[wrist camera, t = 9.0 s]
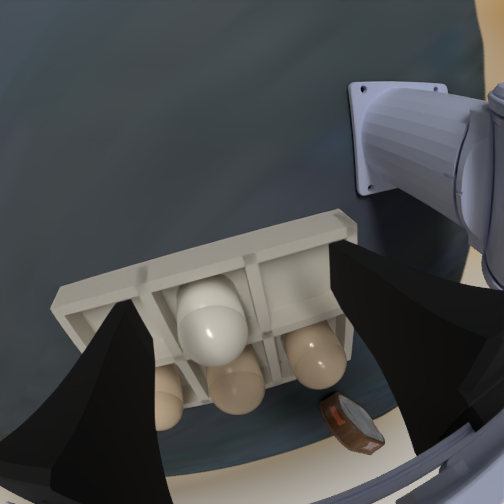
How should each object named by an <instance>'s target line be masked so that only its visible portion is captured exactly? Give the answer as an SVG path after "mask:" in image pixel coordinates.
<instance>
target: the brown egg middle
mask: <svg viewBox="0 0 504 504" xmlns="http://www.w3.org/2000/svg"><path fill="white" fill-rule="evenodd" d="M205 369H206V376H207V382H208V389H209V394H210V397H211V399H212V401H213V403H214V404H215V405H216V406H217V407H218V408H219V409H220V410H222V411H224V412H226V413H228V414H233V415H242V414H246V413H249V412H251V411H253V410H254V409H255V408H257V407H258V406H259V404H260V403H261V402H262V400H263V397H264V394H265V383H264V379H263V376H262V373H261V370H260V366H259V363H258V360H257V357H256V354H255V350H254V348H253V346H252V344H247V345H246V346H245V349H244V350H243V352H242V353H241V355H240V356H239V357H238V358H237V359H236V360H234V361H233V362H231V363H229V364H227V365H224V366H221V367H207V366H205Z"/></svg>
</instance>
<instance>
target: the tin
mask: <svg viewBox="0 0 504 504" xmlns="http://www.w3.org/2000/svg"><path fill="white" fill-rule="evenodd" d="M319 407H320V411H321V414H322V417H323V419H324V421H325V422H326V424H327V426H328V427H329V429H330V430H331V432H332V433H333V435H334V436H335V437H336V438H337V440H339V442H340V443H341V444H342V445H344V446H345V447H346V448H347V449H349V450H350V451H354V452H358V453H363V454H368V455H371V454H373V453H374V452H375V451H376V450H378V449H379V448H381V447H382V446H383V445H384V444H385V440H384V437H383V435H382V434H381V433H380V432H379V431H378V429H377V428H376V426H375V424H374V422H373V420H372V418H371V417H370V415H369V414H368V413H367V412H366V411H365V410H364V409H363V408H362V407H361V406H360V405H358V404H357V403H355V402H354V401H353V400H351V399H350V398H348V397H346V396H345V395H343V394H342V393H340V392H335V393H333V394H332V395H330V396H329V397H328V398H326V399H325V400H323V401H321V402H320V403H319Z"/></svg>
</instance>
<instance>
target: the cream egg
mask: <svg viewBox="0 0 504 504" xmlns="http://www.w3.org/2000/svg"><path fill="white" fill-rule="evenodd" d="M176 304H177V332H178V340H179V343H180V346H181V348H182V350H183V351H184V353H185V354H186V355H187V356H188V357H189V358H190V359H191V360H193V361H194V362H196V363H198V364H200V365H203V366H207V367H221V366H224V365H227V364H229V363H231V362H233V361H234V360H236V359H237V358H238V357H239V356H240V355H241V353H242V352H243V350H244V349H245V346H246V344H247V340H248V326H247V322H246V318H245V315H244V312H243V309H242V305H241V302H240V299H239V295H238V292H237V289H236V286H235V284H234V283H233V281H232V280H231V279H230V278H228V277H227V276H225V275H223V274H217V275H214V276H210V277H206V278H203V279H199V280H195V281H192V282H188V283H185V284H181V285H180V286H179V288H178V290H177V295H176Z"/></svg>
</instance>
